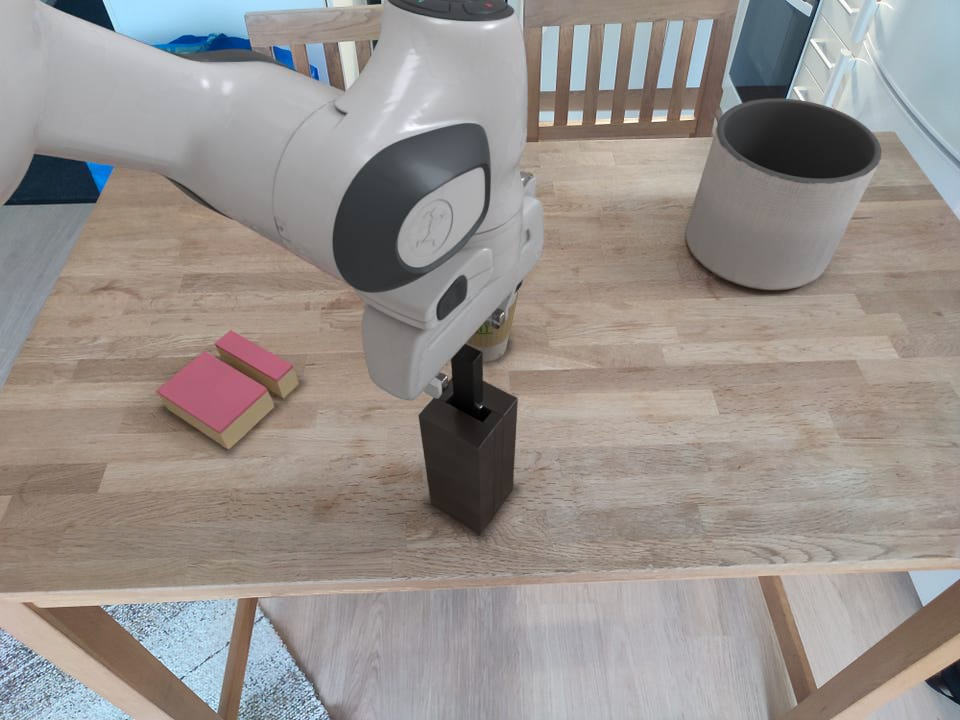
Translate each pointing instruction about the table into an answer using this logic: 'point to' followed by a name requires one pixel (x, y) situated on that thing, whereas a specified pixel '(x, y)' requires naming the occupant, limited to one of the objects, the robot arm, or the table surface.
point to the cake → (216, 399)
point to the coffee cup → (494, 335)
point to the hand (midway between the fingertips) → (466, 354)
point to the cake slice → (257, 363)
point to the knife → (468, 381)
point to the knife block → (470, 456)
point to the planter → (779, 191)
